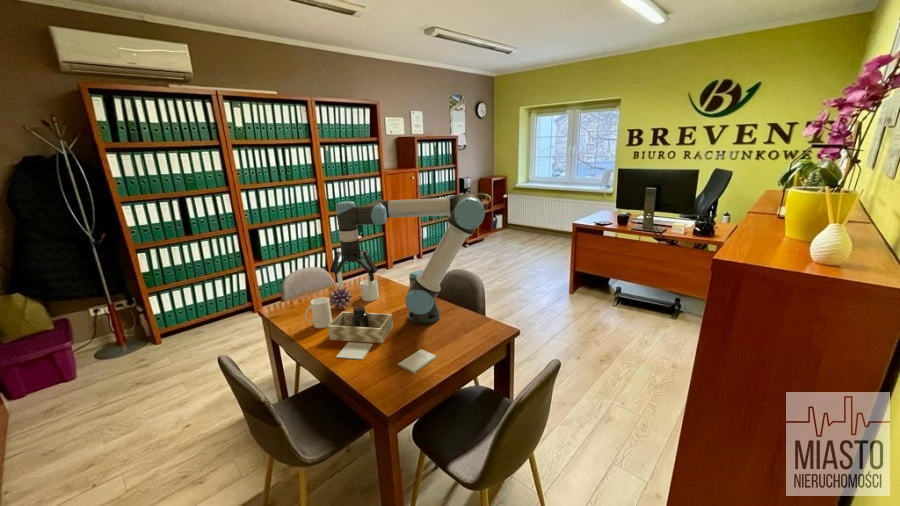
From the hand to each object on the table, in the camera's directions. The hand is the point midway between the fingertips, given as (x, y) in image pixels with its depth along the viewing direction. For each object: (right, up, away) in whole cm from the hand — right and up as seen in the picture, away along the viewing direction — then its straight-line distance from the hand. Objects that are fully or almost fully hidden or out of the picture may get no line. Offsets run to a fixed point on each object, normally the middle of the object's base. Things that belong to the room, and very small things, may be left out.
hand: (355, 287), depth 153 cm
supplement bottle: (+1, -21, +6) cm, 22 cm away
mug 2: (-4, -10, +44) cm, 45 cm away
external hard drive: (+28, -27, -16) cm, 42 cm away
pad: (+2, -25, -8) cm, 26 cm away
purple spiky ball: (-16, -14, +31) cm, 38 cm away
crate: (+1, -21, +6) cm, 22 cm away
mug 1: (-21, -19, +15) cm, 32 cm away
